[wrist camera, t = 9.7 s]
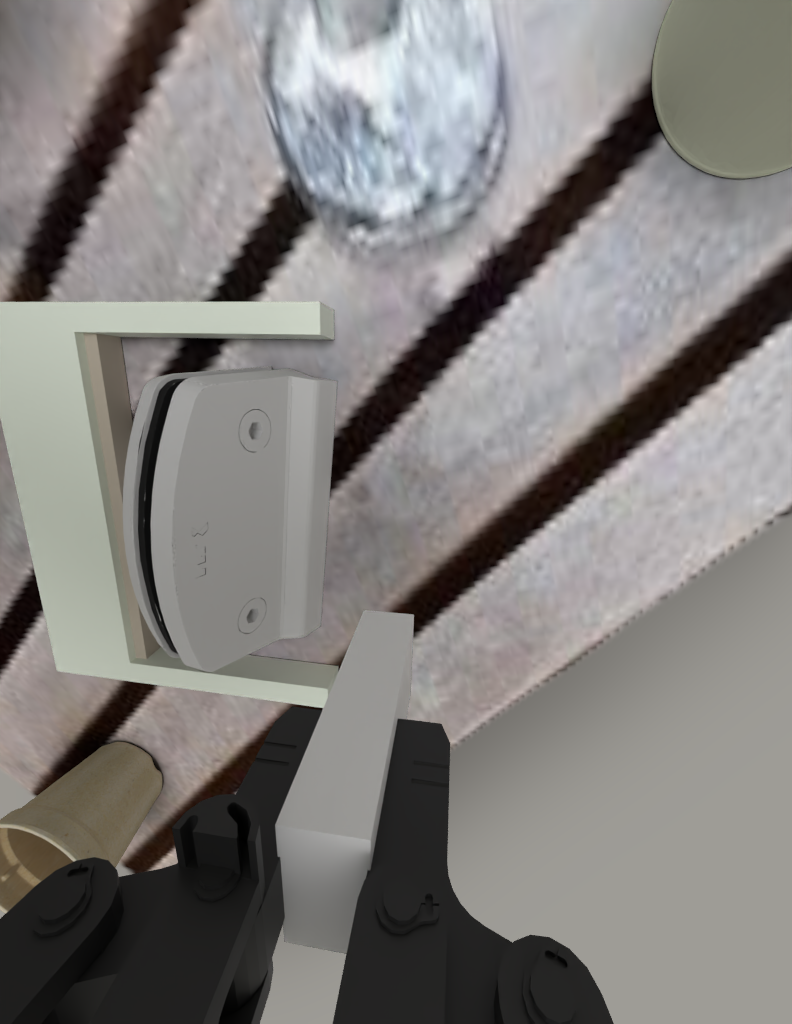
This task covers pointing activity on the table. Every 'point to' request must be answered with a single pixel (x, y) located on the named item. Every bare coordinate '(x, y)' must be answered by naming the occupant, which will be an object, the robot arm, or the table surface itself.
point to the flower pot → (77, 818)
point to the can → (726, 85)
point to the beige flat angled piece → (116, 480)
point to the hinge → (229, 509)
